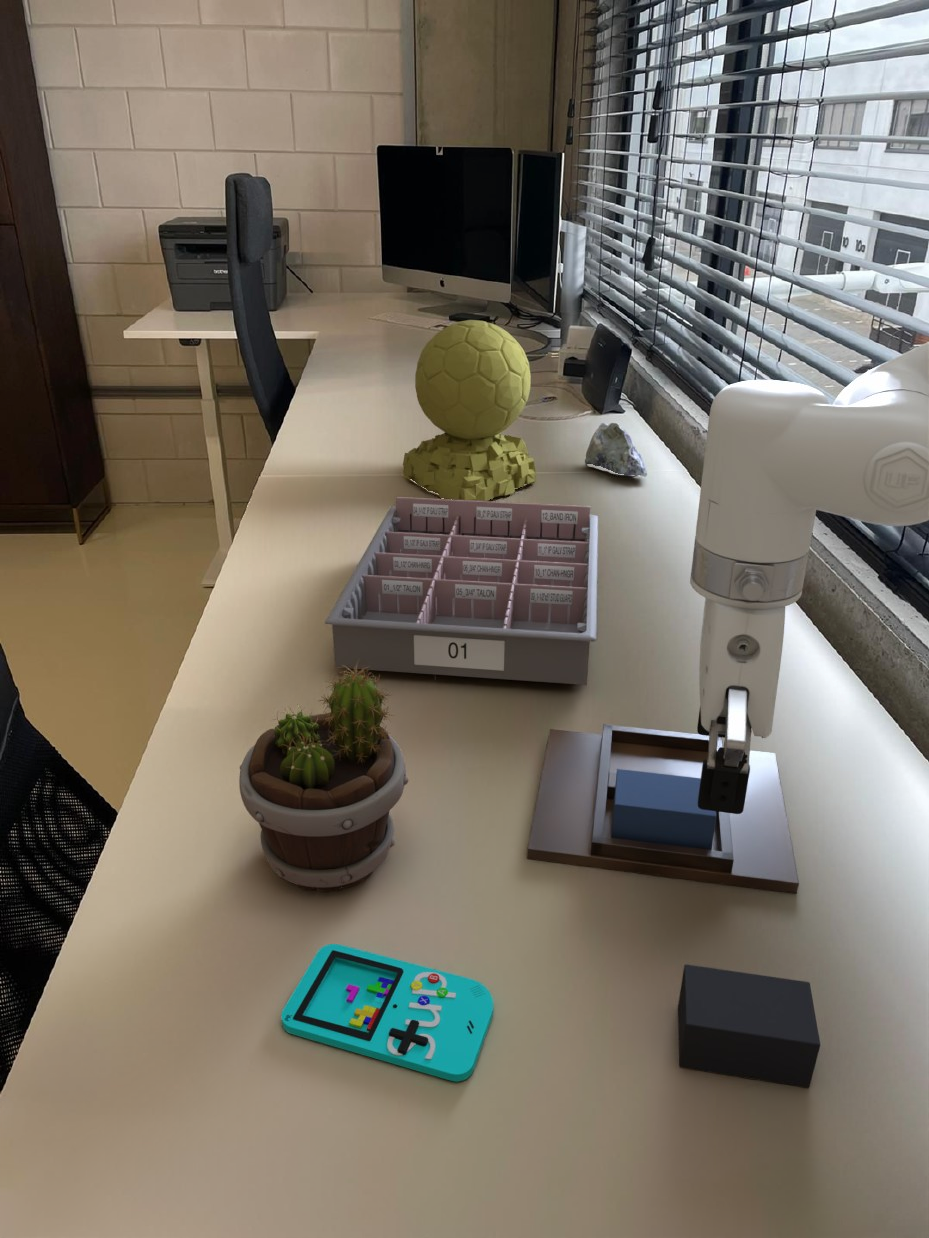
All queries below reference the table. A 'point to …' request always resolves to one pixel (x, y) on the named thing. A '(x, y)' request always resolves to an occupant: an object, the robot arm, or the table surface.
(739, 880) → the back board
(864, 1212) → the table surface
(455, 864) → the table surface
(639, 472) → the mineral rock
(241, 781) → the flowerpot
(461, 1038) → the handheld gaming console
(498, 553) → the organizer tray
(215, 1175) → the table surface
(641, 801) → the blue block
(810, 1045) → the black rectangular block
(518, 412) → the trophy
